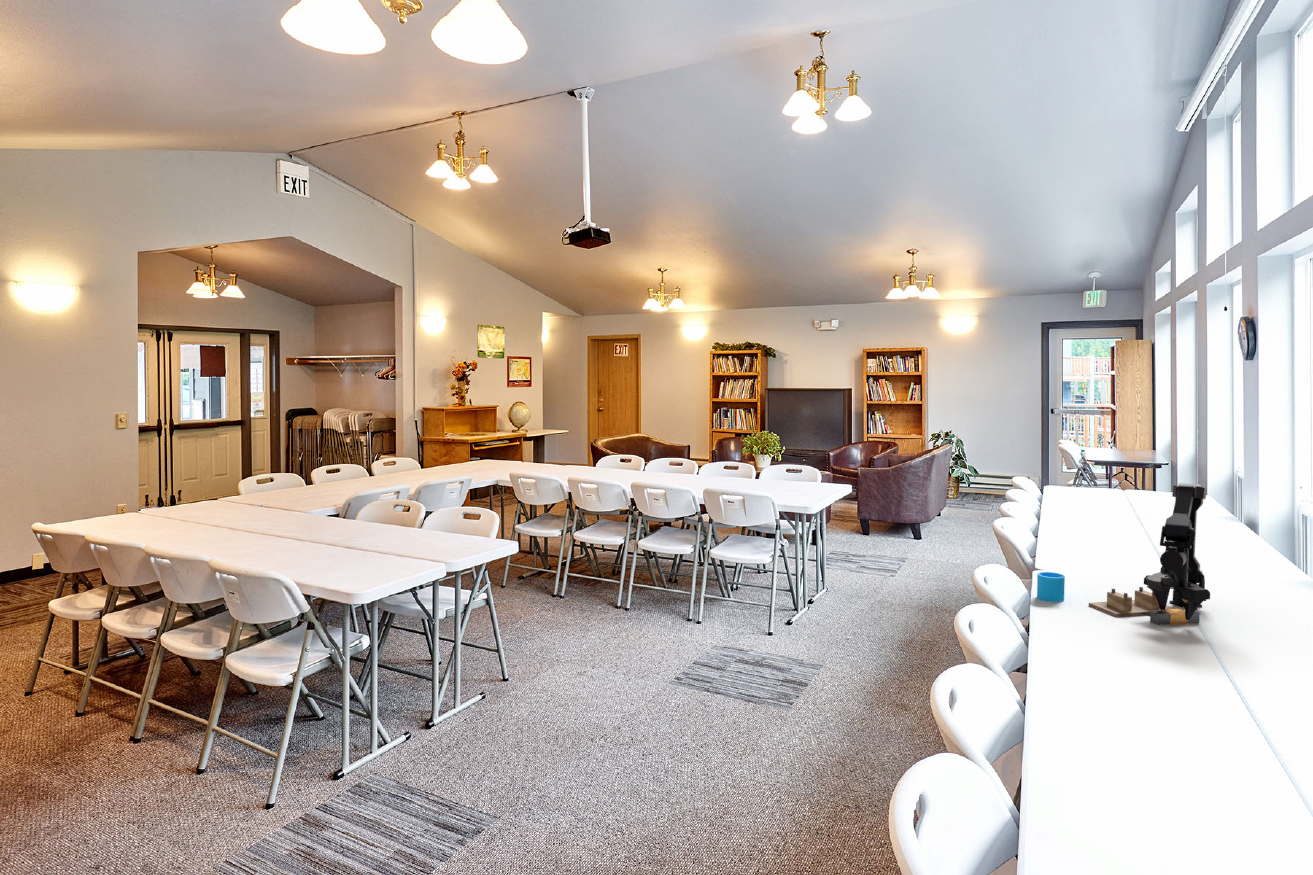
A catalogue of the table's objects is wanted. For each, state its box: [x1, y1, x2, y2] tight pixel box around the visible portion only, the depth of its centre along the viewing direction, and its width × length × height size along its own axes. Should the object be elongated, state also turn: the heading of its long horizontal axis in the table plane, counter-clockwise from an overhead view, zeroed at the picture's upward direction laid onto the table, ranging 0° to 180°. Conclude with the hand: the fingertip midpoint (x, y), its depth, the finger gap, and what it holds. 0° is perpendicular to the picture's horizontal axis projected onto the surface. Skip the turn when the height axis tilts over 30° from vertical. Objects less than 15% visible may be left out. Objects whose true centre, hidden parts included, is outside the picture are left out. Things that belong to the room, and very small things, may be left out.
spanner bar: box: [1149, 608, 1201, 626], centre depth 227 cm, size 14×3×4 cm, turn 98°
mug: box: [1036, 571, 1066, 603], centre depth 255 cm, size 12×8×8 cm
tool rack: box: [1088, 586, 1177, 618], centre depth 241 cm, size 22×12×6 cm, turn 98°
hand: (1174, 614), depth 227 cm, fingers open, 9 cm apart
